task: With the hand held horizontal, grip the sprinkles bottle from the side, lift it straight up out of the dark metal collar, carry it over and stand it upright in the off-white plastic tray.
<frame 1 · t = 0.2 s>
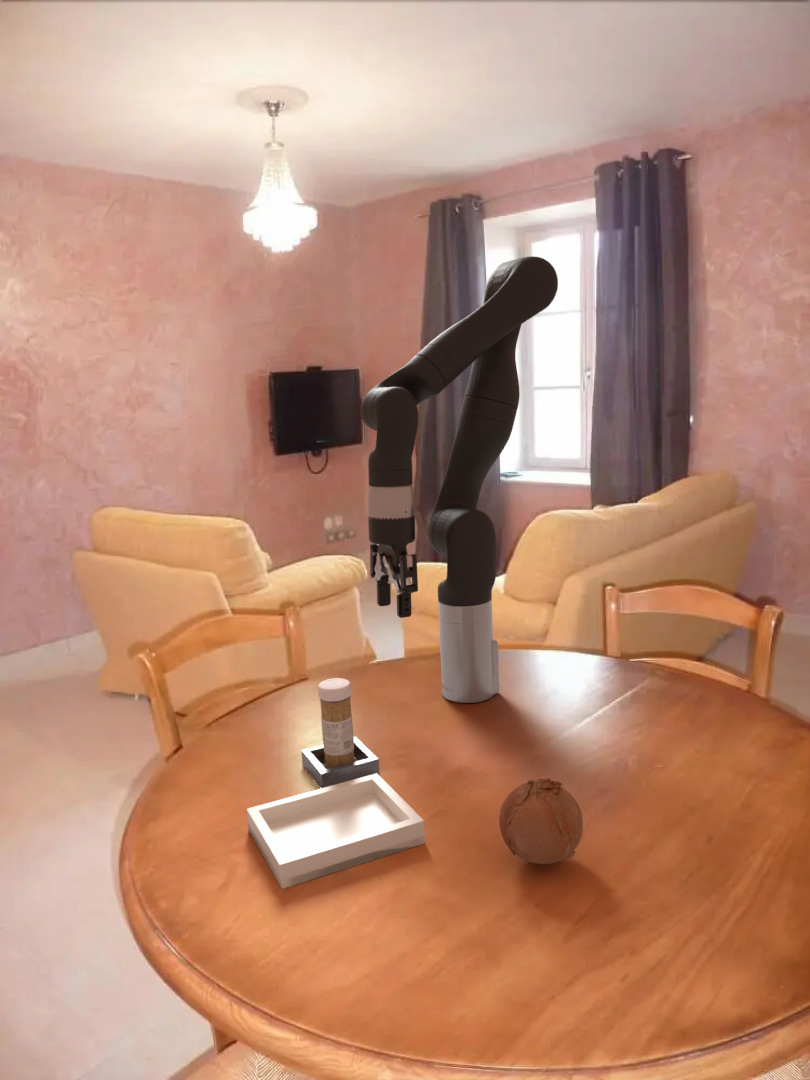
hand: (393, 610, 136), 18 cm above the table, tool pointing down, fingers open, 8 cm apart
sprinkles bottle: (340, 771, 120), on the table
onion: (541, 862, 95), on the table
plastic tray: (334, 836, 103), on the table
metal collar: (340, 770, 120), on the table
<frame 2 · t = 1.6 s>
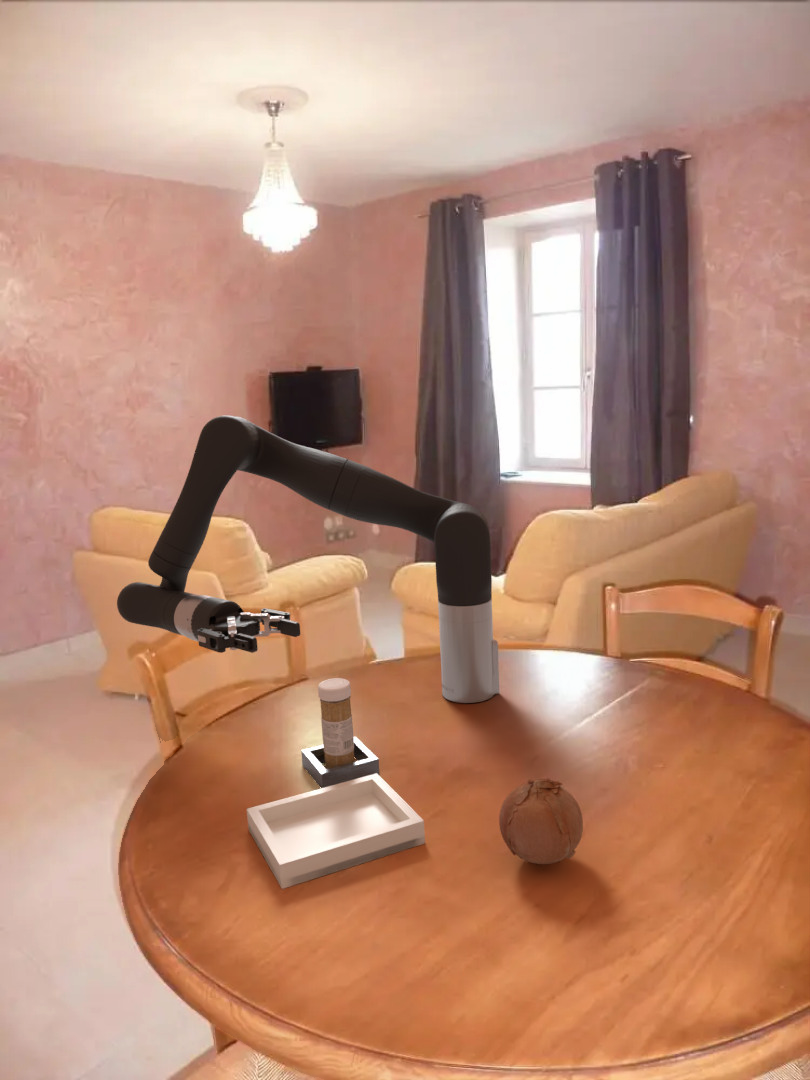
hand: (277, 637, 123), 18 cm above the table, tool horizontal, fingers open, 8 cm apart
nothing on the table moved.
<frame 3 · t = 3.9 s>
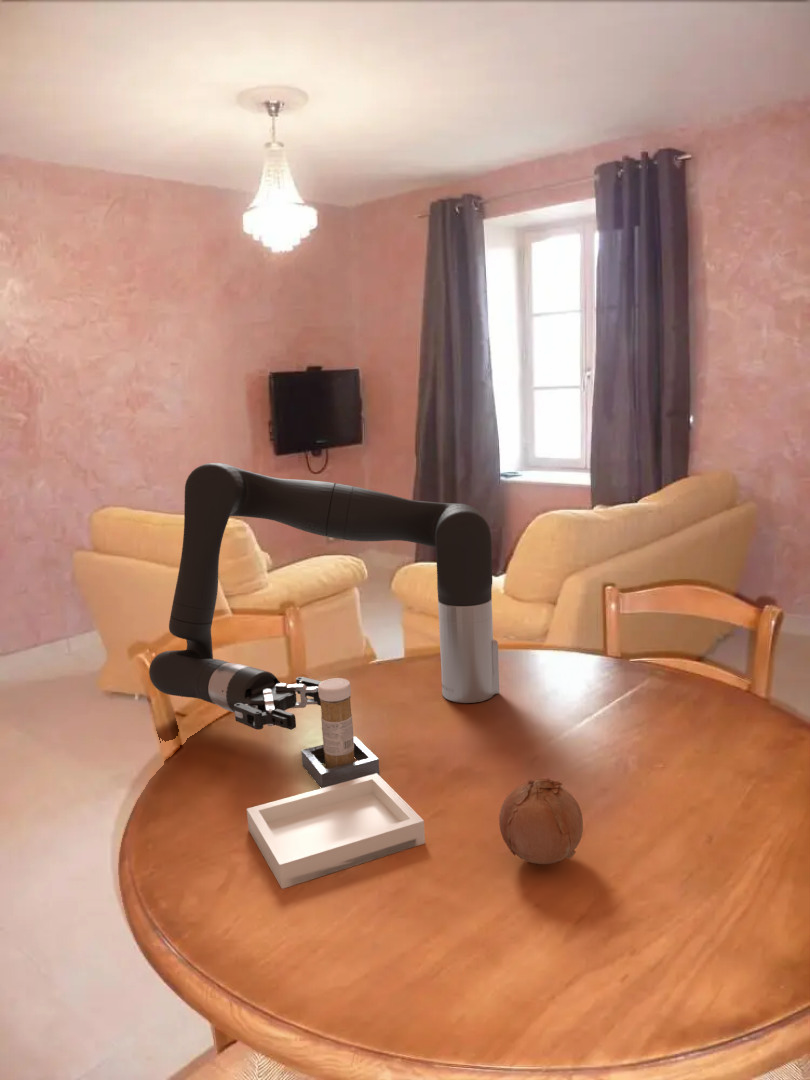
hand: (315, 712, 121), 8 cm above the table, tool horizontal, fingers open, 8 cm apart
nothing on the table moved.
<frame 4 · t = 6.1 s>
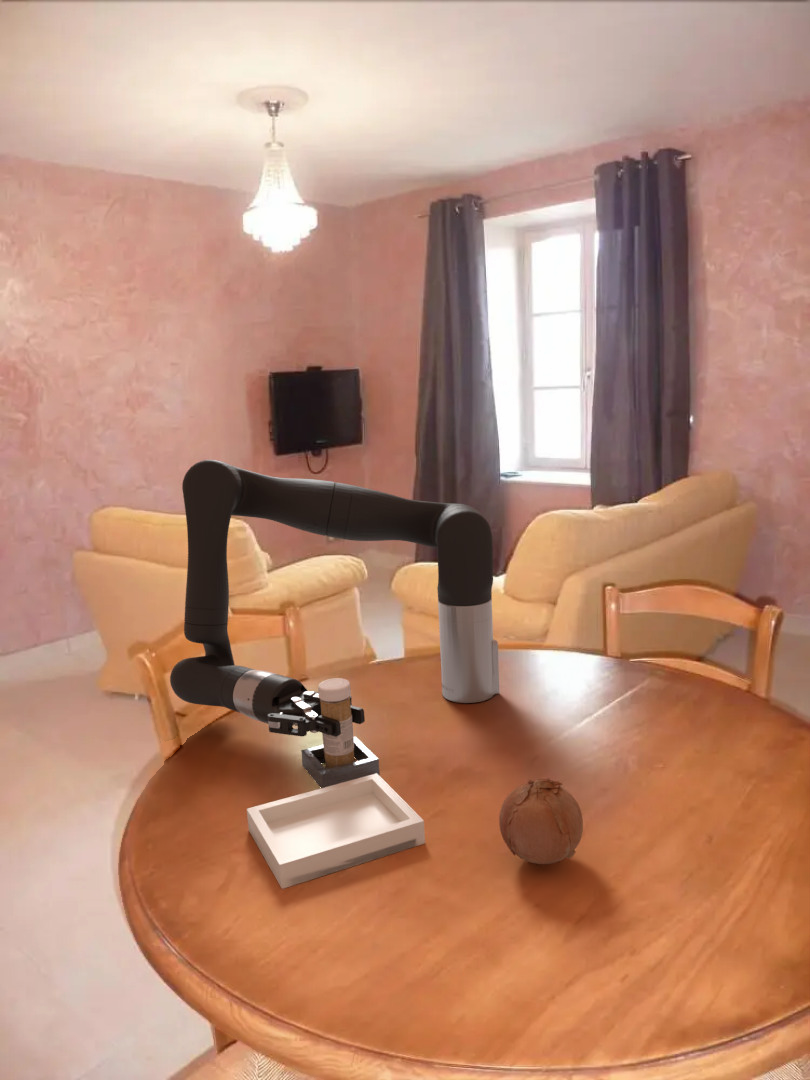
hand: (350, 722, 116), 8 cm above the table, tool horizontal, fingers closed on sprinkles bottle, 4 cm apart
sprinkles bottle: (340, 771, 120), on the table, touching gripper
everything else where it was.
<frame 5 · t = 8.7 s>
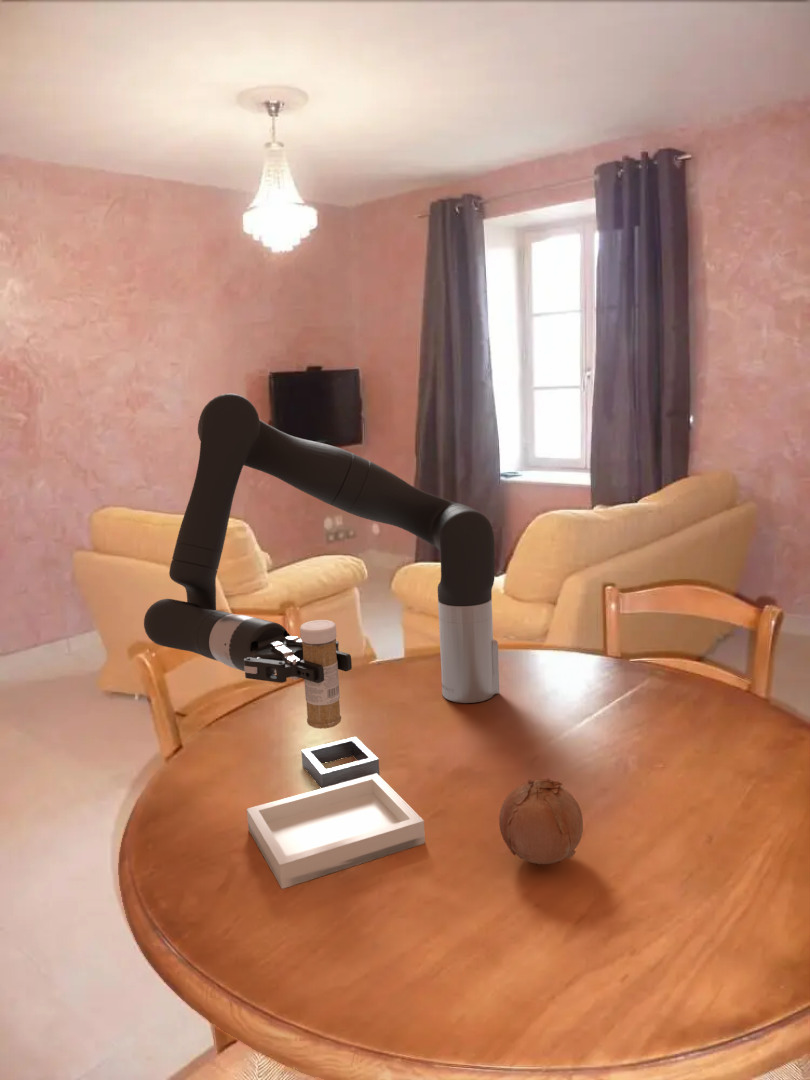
hand: (335, 668, 104), 20 cm above the table, tool horizontal, fingers closed on sprinkles bottle, 4 cm apart
sprinkles bottle: (324, 724, 108), point 12 cm above the table, touching gripper
everything else where it was.
when the fingers open (10 cm above the table, at t = 11.4 s): sprinkles bottle drops 1 cm, resting on plastic tray.
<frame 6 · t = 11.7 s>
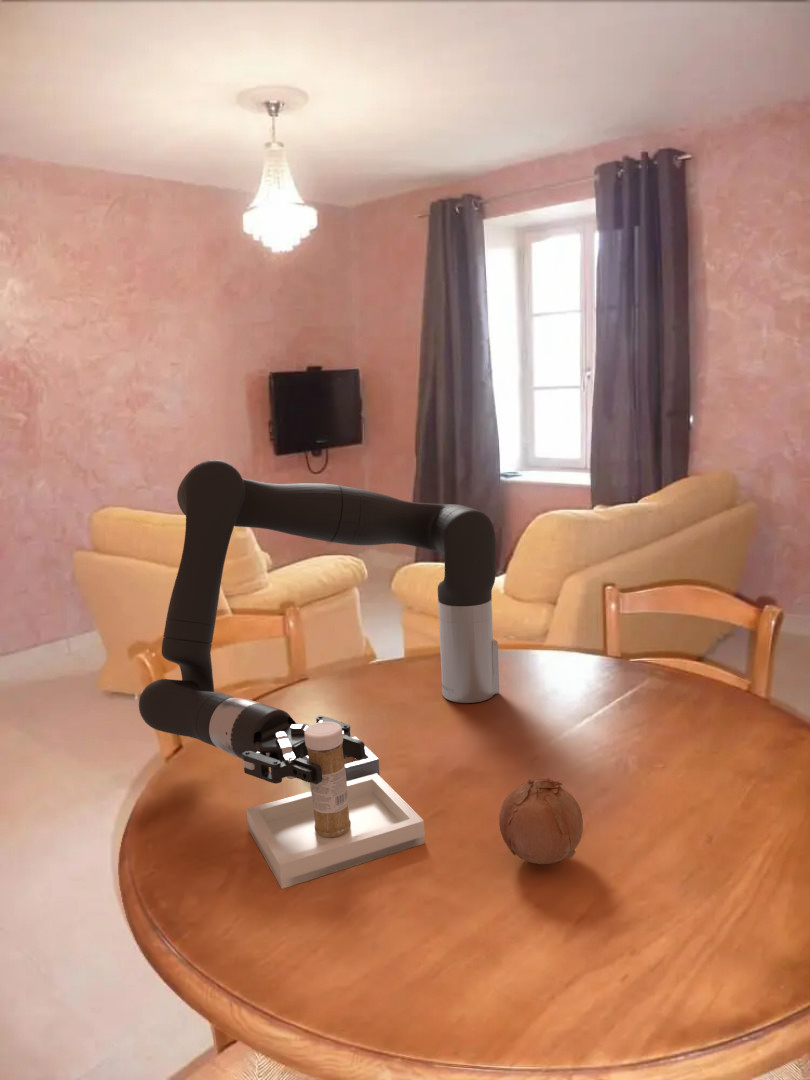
hand: (342, 762, 99), 10 cm above the table, tool horizontal, fingers open, 7 cm apart
sprinkles bottle: (332, 830, 102), point 1 cm above the table, touching plastic tray
everything else where it was.
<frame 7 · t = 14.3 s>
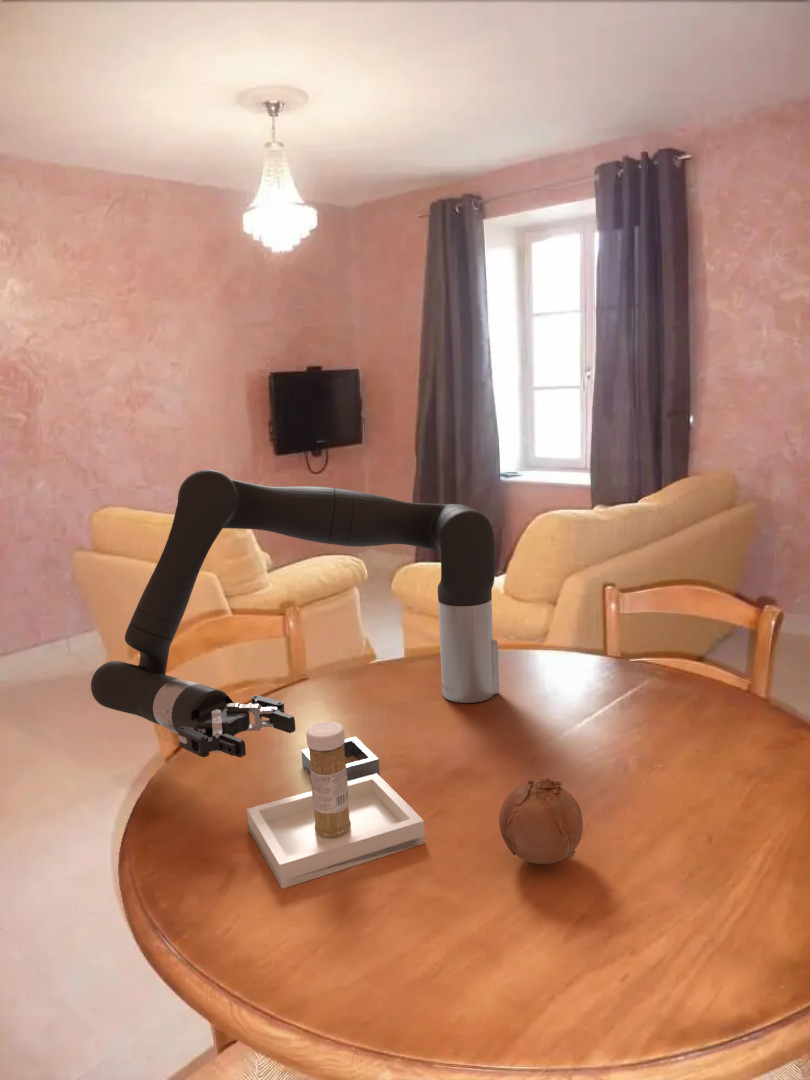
hand: (269, 736, 107), 11 cm above the table, tool horizontal, fingers open, 8 cm apart
nothing on the table moved.
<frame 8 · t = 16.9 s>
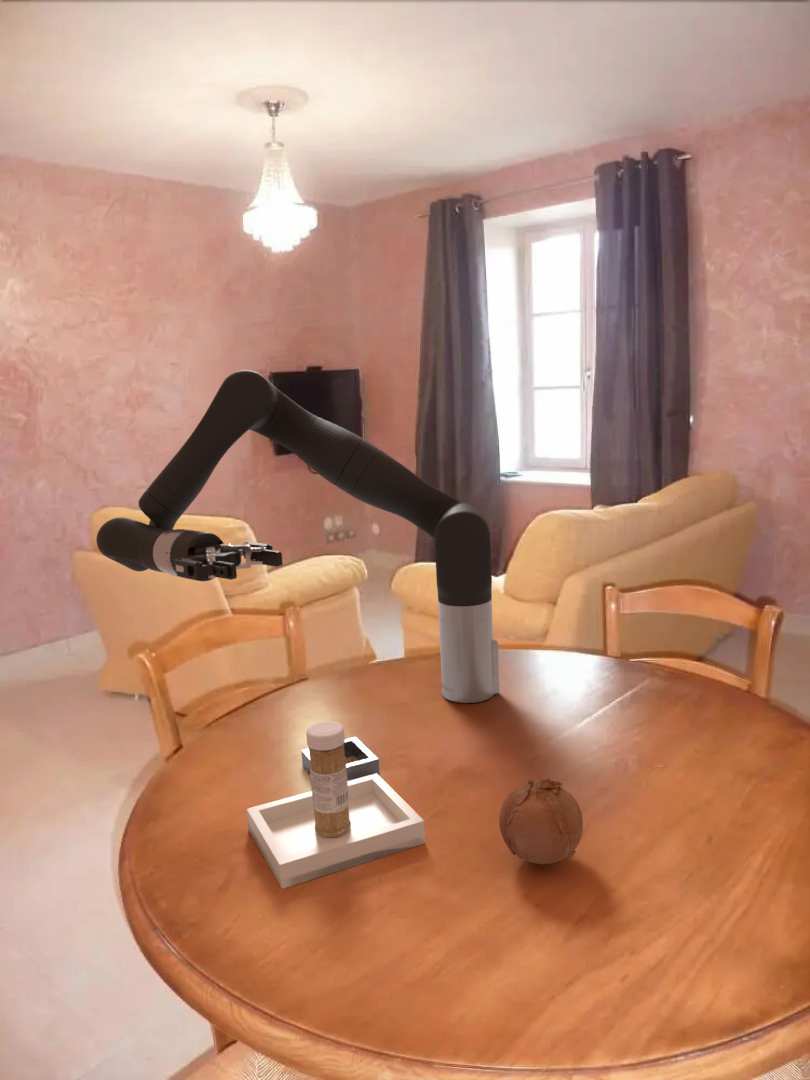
hand: (258, 565, 118), 30 cm above the table, tool horizontal, fingers open, 8 cm apart
nothing on the table moved.
at the end: sprinkles bottle inside the target area on the plastic tray (0.1 cm from its centre), point 0.8 cm above the plastic tray's base; sprinkles bottle tilted 0°; the gripper is holding nothing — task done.
